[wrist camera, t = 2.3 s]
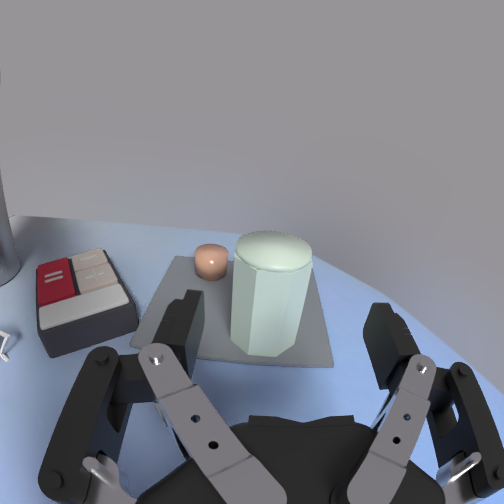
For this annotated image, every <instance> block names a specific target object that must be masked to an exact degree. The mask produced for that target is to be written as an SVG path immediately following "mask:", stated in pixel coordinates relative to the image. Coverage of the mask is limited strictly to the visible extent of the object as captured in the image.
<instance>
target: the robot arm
mask: <svg viewBox="0 0 504 504" xmlns="http://www.w3.org/2000/svg"><path fill="white" fill-rule="evenodd" d="M19 269H20V261H19V258H18V254H17V251H16V247H15V243H14V239H13V235H12V231H11V227H10V222H9V218H8V213H7V209H6V203H5V198H4V192H3V185H2V179H1V172H0V286H1V285H3V284H4V283H6V282H8V281H9V280H11V279H12V278H13V277H14V276H15V275H16V274H17V272H18V271H19ZM204 324H205V306H204V291H201V290H192V289H187V291H186V293H185V296H184V298H183V299H174V300H173V301H172V302H171V303H170V304H169V305H168V306H167V309H166V311H165V314H164V315H163V318H162V321H161V322H160V324H159V327H158V329H157V331H156V334H155V336H154V338H153V341H152V343H151V344H149V345H147V346H145V347H144V348H142V349H141V351H140V352H139V353H138V354H132V355H118V353H117V351H116V350H115V349H113V348H111V347H107V346H102V347H97V348H95V349H93V350H92V351H91V352H90V353H89V354H88V356H87V358H86V360H85V362H84V364H83V366H82V368H81V370H80V372H79V374H78V376H77V378H76V381H75V383H74V385H73V387H72V389H71V392H70V394H69V396H68V398H67V401H66V403H65V405H64V408H63V410H62V412H61V415H60V417H59V420H58V422H57V424H56V427H55V430H54V432H53V435H52V437H51V440H50V443H49V445H48V448H47V451H46V454H45V456H44V459H43V462H42V465H41V468H40V471H39V475H38V484H39V487H40V489H41V491H42V492H43V493H44V494H45V495H46V496H47V497H48V498H50V499H51V500H53V501H55V502H57V503H58V504H476V503H478V502H480V501H482V500H483V499H485V498H487V497H489V496H491V495H492V494H494V493H496V492H497V491H499V490H501V489H502V488H504V448H503V445H502V442H501V439H500V436H499V433H498V431H497V428H496V425H495V422H494V420H493V417H492V415H491V412H490V409H489V407H488V405H487V402H486V400H485V397H484V395H483V393H482V391H481V388H480V386H479V384H478V382H477V379H476V377H475V375H474V373H473V371H472V369H471V368H470V367H469V366H468V365H466V364H465V363H462V362H455V363H454V364H453V365H452V366H451V367H450V369H444V368H439V367H436V365H435V363H434V361H433V360H432V359H431V358H429V357H428V356H425V355H422V354H421V353H420V351H419V349H418V347H417V345H416V343H415V341H414V339H413V337H412V335H411V333H410V331H409V329H408V327H407V325H406V323H405V321H404V319H402V318H401V317H400V316H399V315H398V314H397V313H394V312H393V310H392V308H391V306H390V304H389V303H373V304H372V306H371V309H370V312H369V314H368V317H367V320H366V322H365V325H364V328H363V339H364V342H365V345H366V348H367V351H368V354H369V357H370V360H371V363H372V366H373V369H374V373H375V376H376V379H377V382H378V386H379V389H380V390H383V389H389V394H388V395H387V397H386V399H385V401H384V403H383V405H382V407H381V409H380V411H379V413H378V414H377V416H376V418H375V420H374V422H373V423H372V425H371V427H368V426H366V425H363V424H360V423H356V422H354V417H353V415H349V416H330V417H326V418H322V419H318V420H314V421H310V422H306V423H301V422H297V421H292V420H288V419H284V418H279V417H272V416H253V415H249V421H248V422H246V423H241V424H237V425H234V426H231V427H228V426H227V424H226V423H225V422H224V420H223V419H222V418H221V416H220V415H219V413H218V412H217V411H216V409H215V408H214V406H213V405H212V404H211V402H210V401H209V399H208V398H207V396H206V395H205V394H204V392H203V391H202V389H201V388H200V387H199V386H198V385H197V384H195V385H194V384H193V383H192V382H191V377H192V373H193V369H194V365H195V361H196V357H197V353H198V349H199V345H200V341H201V338H202V334H203V330H204ZM143 402H153V403H154V405H155V407H156V409H157V411H158V413H159V414H160V416H161V418H162V420H163V422H164V424H165V426H166V427H167V429H168V431H169V433H170V435H171V437H172V439H173V441H174V443H175V445H176V447H177V448H178V450H179V452H180V453H181V455H182V457H183V458H184V460H185V462H184V463H182V464H181V465H180V466H179V467H177V468H176V469H175V470H173V471H172V472H171V473H169V474H168V475H167V476H165V477H164V478H163V479H161V480H160V481H159V482H157V483H156V484H154V485H153V486H152V487H150V488H149V489H147V490H146V491H145V492H143V493H142V494H141V495H140V496H139V498H138V499H135V498H133V497H132V496H131V495H130V493H129V490H128V478H127V476H126V474H125V473H124V471H123V470H122V469H121V468H120V467H119V466H118V465H117V461H118V457H119V453H120V449H121V445H122V441H123V438H124V434H125V430H126V426H127V423H128V419H129V416H130V412H131V408H132V405H133V403H143ZM454 403H455V406H456V408H457V411H458V414H459V419H458V422H457V420H456V417H455V414H454V411H453V408H452V406H453V404H454ZM425 418H427V421H428V425H429V429H430V432H431V436H432V440H433V444H434V448H435V453H436V457H437V462H438V466H439V470H438V472H437V474H436V480H434V479H433V478H431V477H430V476H429V475H428V474H427V473H425V472H424V471H423V470H422V469H420V468H419V467H418V466H417V465H415V464H414V463H413V462H412V461H411V460H409V458H410V456H411V454H412V452H413V449H414V447H415V444H416V442H417V440H418V437H419V435H420V432H421V429H422V427H423V424H424V421H425Z"/></svg>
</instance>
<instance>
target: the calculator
mask: <svg viewBox="0 0 504 504" xmlns="http://www.w3.org/2000/svg"><path fill="white" fill-rule="evenodd" d="M36 313H37V329H38V334H39V337H40V339H41V341H42V343H43V345H44V347H45V349H46V351H47V353H48V355H49V357H50V358H55V357H59V356H62V355H65V354H68V353H71V352H74V351H77V350H80V349H83V348H86V347H89V346H92V345H95V344H98V343H101V342H104V341H107V340H110V339H113V338H116V337H119V336H122V335H125V334H128V333H131V332H134V331H136V330H137V328H138V326H139V321H138V317H137V313H136V308H135V304H134V301H133V300H132V298H131V296H130V294H129V293H128V291H127V289H126V288H125V286H124V284H123V282H122V281H121V279H120V277H119V275H118V273H117V272H116V270H115V268H114V266H113V264H112V262H111V261H110V259H109V257H108V255H107V253H106V251H105V250H102V248H99V249H95V250H91V251H87V252H84V253H80V254H77V255H73V256H72V257H71V259H68V258H67V257H66V258H62V259H59V260H55V261H52V262H48V263H45V264H42V265H39V266H38V268H37V269H36Z"/></svg>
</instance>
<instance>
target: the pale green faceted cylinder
mask: <svg viewBox="0 0 504 504" xmlns="http://www.w3.org/2000/svg"><path fill="white" fill-rule="evenodd" d="M311 256H312V251H311V248H310V246H309V245H308V244H307V243H306V242H305V241H303V240H302V239H300V238H298V237H296V236H293V235H290V234H286V233H282V232H276V231H257V232H252V233H248V234H245V235H243V236H242V237H240V238H239V239H238V240H237V243H236V251H235V255H234V271H233V291H232V312H231V335H230V339H231V340H232V341H233V342H234V343H235V344H236V345H237V346H239V347H240V348H241V349H242V350H243V351H244V352H245V353H247V354H248V355H256V356H269V357H277V356H278V355H279V354H281V353H282V352H284V351H285V350H287V349H288V348H289V347H291V346H292V345H294V343H295V339H296V335H297V331H298V327H299V323H300V318H301V314H302V310H303V306H304V301H305V297H306V293H307V288H308V283H309V279H310V274H311V269H312V265H313V262H312V258H311Z"/></svg>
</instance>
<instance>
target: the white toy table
mask: <svg viewBox="0 0 504 504" xmlns="http://www.w3.org/2000/svg"><path fill="white" fill-rule="evenodd" d="M0 335H1V336H3V337H5V338H4V341H3V344H2V347H1V350H0V357H1V358H2V359H3V360H4V361H6V362H8V361H9V359H8V358H7V357H6V356H5V355H4V354H3V350H4V348H5V346H6V344H7V342H8V340H9V338H10V335H9V334H7V333H5V332H3V331H1V330H0Z"/></svg>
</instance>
